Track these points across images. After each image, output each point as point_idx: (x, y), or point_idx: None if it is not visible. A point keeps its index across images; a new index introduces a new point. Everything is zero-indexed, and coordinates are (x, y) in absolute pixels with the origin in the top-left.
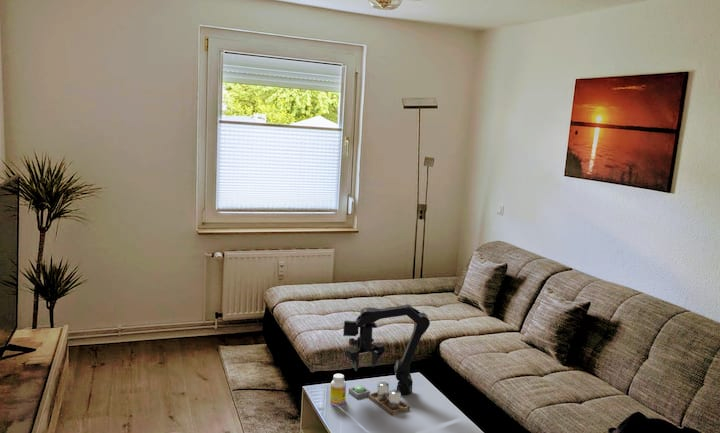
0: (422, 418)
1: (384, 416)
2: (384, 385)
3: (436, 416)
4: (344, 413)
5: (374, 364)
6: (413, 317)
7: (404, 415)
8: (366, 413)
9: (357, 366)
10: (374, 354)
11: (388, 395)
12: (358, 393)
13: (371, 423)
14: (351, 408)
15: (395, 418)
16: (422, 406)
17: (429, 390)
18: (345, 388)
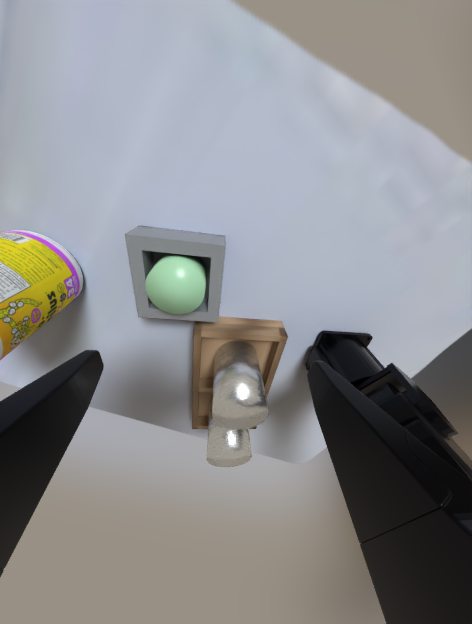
0: (256, 432)
1: (180, 400)
2: (237, 422)
3: (287, 437)
4: (55, 342)
5: (320, 414)
6: None
7: None
8: (138, 372)
9: (51, 455)
10: (434, 594)
11: (271, 355)
12: (151, 310)
13: (125, 407)
14: (98, 330)
15: None
16: (305, 407)
17: (414, 366)
18: (15, 347)
